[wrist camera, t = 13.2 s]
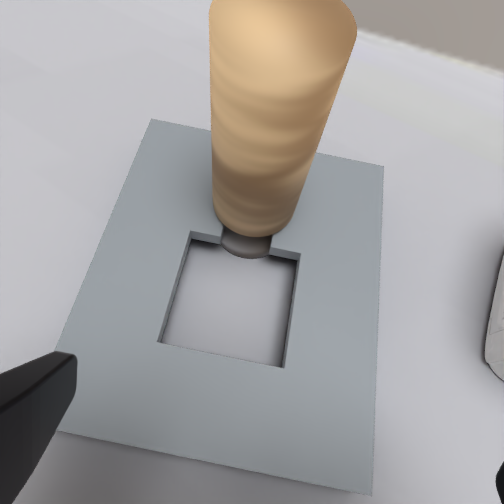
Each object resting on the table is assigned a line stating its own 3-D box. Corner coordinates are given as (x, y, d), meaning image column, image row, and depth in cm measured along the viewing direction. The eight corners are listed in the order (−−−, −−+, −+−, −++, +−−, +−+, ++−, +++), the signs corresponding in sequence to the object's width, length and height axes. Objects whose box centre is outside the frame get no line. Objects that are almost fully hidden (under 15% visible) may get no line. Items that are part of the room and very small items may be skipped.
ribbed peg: (232, 270, 24) (249, 88, 11) (201, 208, 25) (185, -10, 13) (300, 241, 25) (385, 49, 12) (266, 184, 27) (310, -35, 14)
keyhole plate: (353, 488, 19) (371, 496, 17) (46, 424, 19) (24, 423, 17) (370, 188, 27) (384, 166, 25) (156, 144, 27) (151, 118, 25)
